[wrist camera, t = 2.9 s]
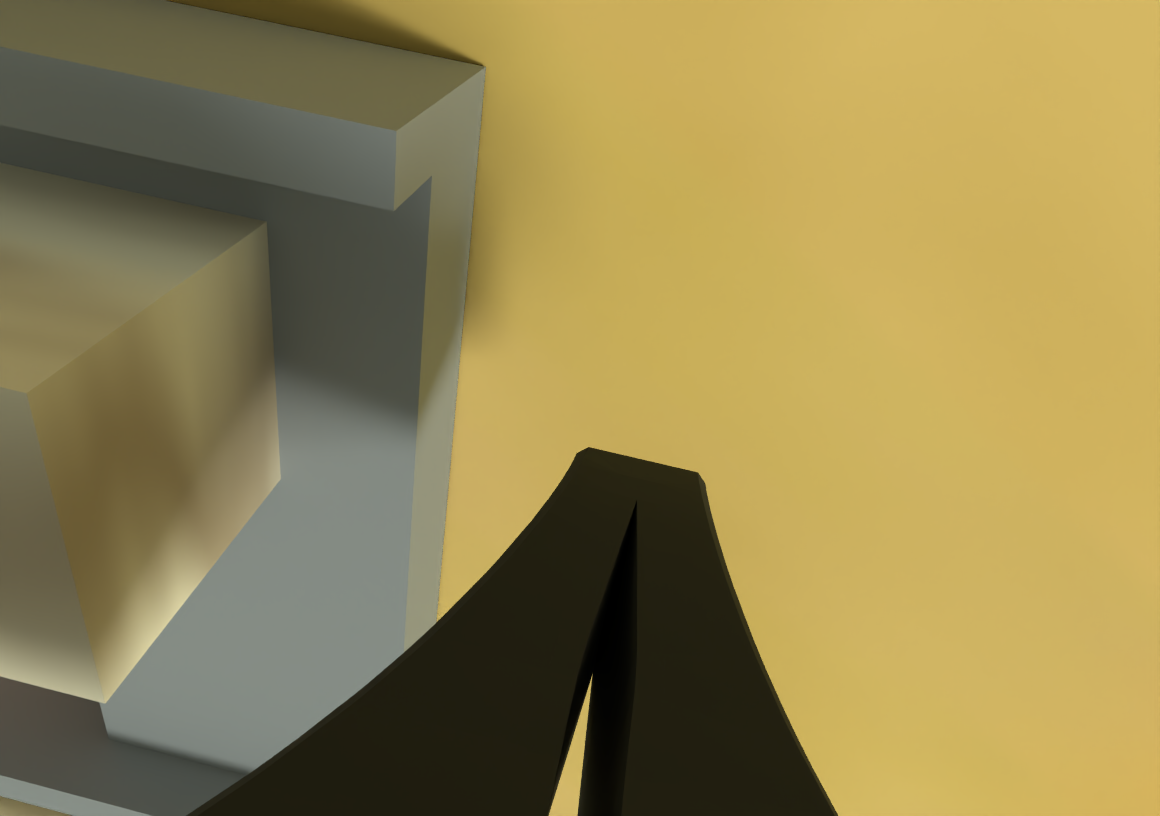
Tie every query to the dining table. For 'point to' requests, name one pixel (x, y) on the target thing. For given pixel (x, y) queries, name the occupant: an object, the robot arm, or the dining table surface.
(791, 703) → the dining table surface
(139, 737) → the box
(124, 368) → the birch block
